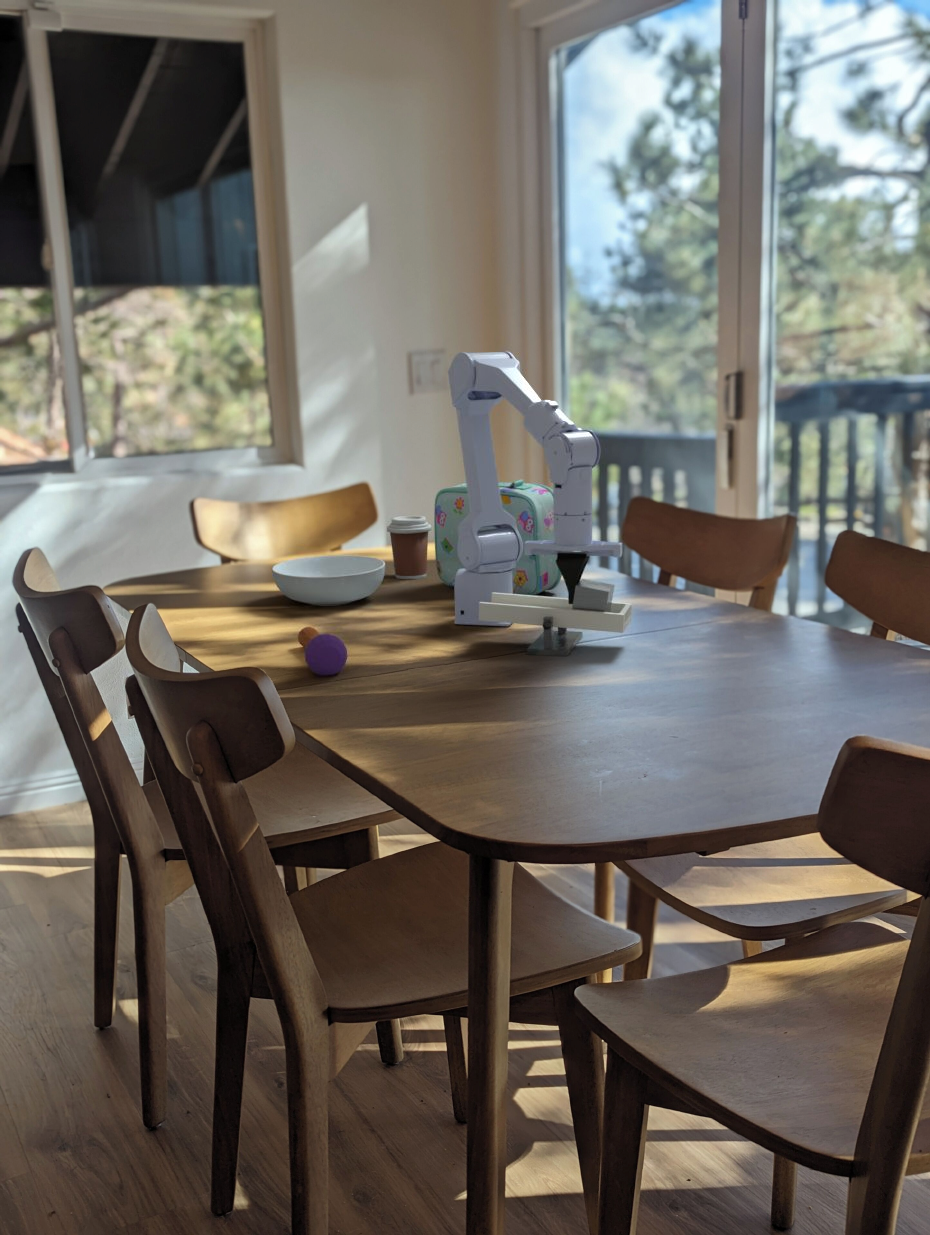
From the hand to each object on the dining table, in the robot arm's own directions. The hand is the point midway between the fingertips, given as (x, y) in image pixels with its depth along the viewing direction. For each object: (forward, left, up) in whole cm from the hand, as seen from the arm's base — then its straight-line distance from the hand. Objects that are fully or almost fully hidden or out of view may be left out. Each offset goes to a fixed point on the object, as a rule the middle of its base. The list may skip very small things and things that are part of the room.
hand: (573, 602), depth 172 cm
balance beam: (-3, 0, -2) cm, 4 cm away
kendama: (-35, -16, -7) cm, 39 cm away
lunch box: (-22, +39, -7) cm, 45 cm away
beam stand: (-3, 0, -7) cm, 7 cm away
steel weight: (+3, 0, -2) cm, 3 cm away
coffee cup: (-44, +50, -7) cm, 67 cm away
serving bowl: (-51, +25, -7) cm, 57 cm away
